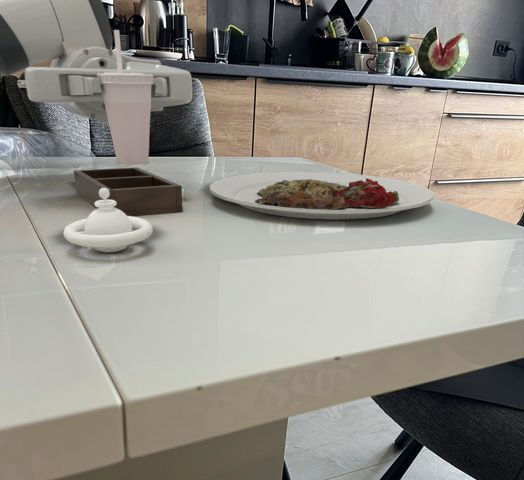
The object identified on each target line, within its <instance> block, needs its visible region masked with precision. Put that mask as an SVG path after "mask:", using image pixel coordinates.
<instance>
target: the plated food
mask: <svg viewBox="0 0 524 480" xmlns="http://www.w3.org/2000/svg"><path fill="white" fill-rule="evenodd" d="M208 187H209V192H210V193H211V194H212V195H213V196H215V197H216V198H219V199H222V200H224V201H227V202H231V203H235V204H237V205H239V206H240V207H242V208H245V209H248V210H250V211H254V212H259V213H262V214H267V215H272V216H273V215H274V216H278V217H279V216H281V217H289V218H297V219H309V220H359V219H360V220H362V219H373V218H380V217H385V216H386V217H387V216H391V215H395V214H397V213H400V212H402V211H405V210H411V209H416V208H420V207H423V206H426V205H428V204H430V203H431V202H432V201H433V200H434V199H435V195H434V194H435V193H434V192H433V191H432V190H431V189H429V188H428V187H425V186H423V185H420V184H417V183H414V182H410V181H405V180H400V179H396V178H389V177H383V176H375V175H367V174H356V173H345V172H329V171H269V172H254V173H245V174H238V175H232V176H227V177H223V178H220V179H217V180H215V181H213V182H211V183H210V184H209V186H208Z"/></svg>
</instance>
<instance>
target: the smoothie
mask: <svg viewBox="0 0 524 480" xmlns="http://www.w3.org/2000/svg"><path fill="white" fill-rule="evenodd" d="M113 35H114V44H115V45H114V46H115V52H116V58H117V69H118V73H117V72H104V74H97V77H98V78H100V81H101V89H102V94H103V99H104V104H105V108H106V113H107V118H108V121H107V122H108V127H109V131H110V135H111V141H112V145H113V150H114V154H115V159H116V163H117V164H118V165H124V166H140V165H147V164H149V155H150V154H149V153H150V152H149V151H150V132H151V131H150V127H151V112H150V109H151V86H152V84H154V81H153V75H146V74H143V73H123V69H122V58H121V54H122V47H121V38H120V37H121V36H120V29H114V30H113Z"/></svg>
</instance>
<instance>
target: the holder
mask: <svg viewBox="0 0 524 480" xmlns="http://www.w3.org/2000/svg"><path fill="white" fill-rule="evenodd" d="M73 176H74V185H75V193H76V194H77V196H79V197H81V198H82V199H84V200H85V201H86V202H87V203H89V204H90V205H91V206H93V207H94V208H95V209H98V208H99V207H96V206H95V205H94V203H95V202H96V201H98V200H104V199H103V198H101V197H100V196H99V190H100V189H101V188H107V189H108V190H109V192H110V195H109V197H108V198H106V200H114V201H116V203H117V204H116V206H114V208H117V209H119V210H121V211H122V212H124V213H125V214H126V215H127V216H132V217H137V216H147V215H158V214H169V213H181V212H183V211H184V208H183V187H182V185H181V184H178V183H175V182H173V181H170V180H168V179H167V178H164V177H161V176H159V175H156V174H154V173H152V172H149V171H147V170H145V169H142V168H140V167H137V166H136V167H115V168H114V167H113V168H94V169H93V168H92V169H76V170H75V169H74V170H73Z"/></svg>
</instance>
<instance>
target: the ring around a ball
mask: <svg viewBox="0 0 524 480" xmlns="http://www.w3.org/2000/svg"><path fill="white" fill-rule="evenodd" d="M109 195H110V192H109V190H108V189H107V188H101V189H100V190H99V196H100V197H101V198H103V199H104V200H98V201H96V202H95V203H94V205H95V206H96V207H99V208H98V209H97V208H96V207H95V209H94V210H93V211H92V212H90V213H89V215H88V216H87V218H83V219H79V220H76V221H73V222H71V223H69V224H68V225H66V226H65V228H64V229H63V237H64V239H65V240H66V241H67V242H69V243H70V244H73V245H76V246H80V247H85V248H93V249H94V250H95V251H97V252H101V253H116V252H121V251H123V250H125V249H127V248H128V247H129V246H130V245H133V244H136V243H139V242H142V241H145V240H146V239H148V238H150V237H151V235H152V234H153V232H154V231H153V230H154V229H153V225H152V223H151V222H150V221H148V220H147V219H144V218H141V217H137V216H127V215H126V214H125V213H124V212H122V211H121V210H119V209H117V208H114V206H116V204H117V203H116V201H114V200H106V198H108V197H109ZM133 229H136V230H133Z"/></svg>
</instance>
